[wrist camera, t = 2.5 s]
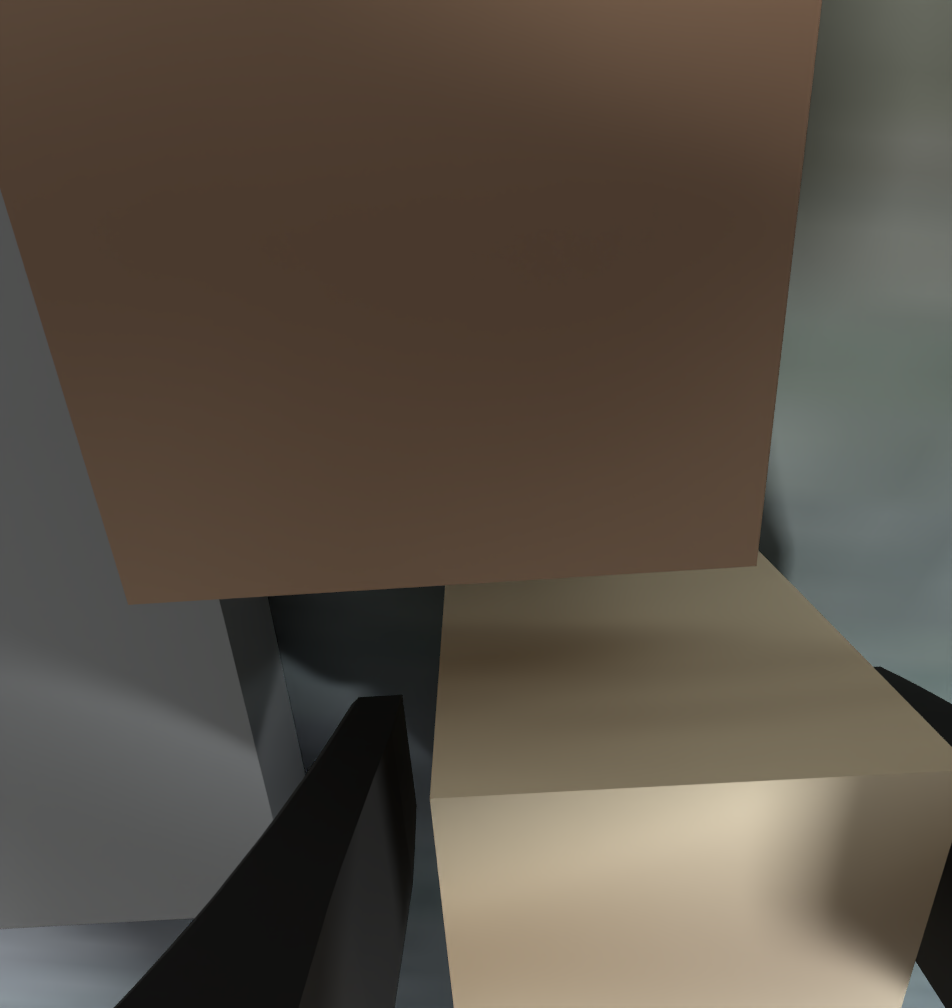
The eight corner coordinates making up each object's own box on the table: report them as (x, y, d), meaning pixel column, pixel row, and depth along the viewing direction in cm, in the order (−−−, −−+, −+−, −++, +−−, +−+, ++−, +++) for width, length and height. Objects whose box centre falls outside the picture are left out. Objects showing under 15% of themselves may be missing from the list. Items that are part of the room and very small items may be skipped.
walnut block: (615, 415, 9) (756, 565, 4) (291, 437, 9) (127, 605, 4) (623, 20, 7) (859, -333, 3) (223, 50, 7) (-139, -260, 3)
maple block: (722, 771, 11) (876, 1086, 7) (466, 784, 11) (465, 1106, 7) (747, 539, 9) (973, 771, 5) (447, 557, 9) (430, 799, 5)
